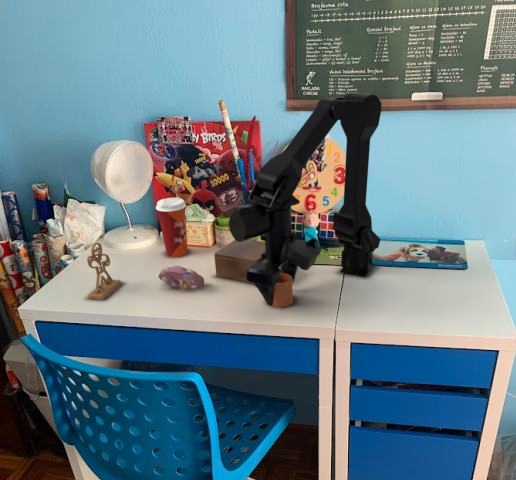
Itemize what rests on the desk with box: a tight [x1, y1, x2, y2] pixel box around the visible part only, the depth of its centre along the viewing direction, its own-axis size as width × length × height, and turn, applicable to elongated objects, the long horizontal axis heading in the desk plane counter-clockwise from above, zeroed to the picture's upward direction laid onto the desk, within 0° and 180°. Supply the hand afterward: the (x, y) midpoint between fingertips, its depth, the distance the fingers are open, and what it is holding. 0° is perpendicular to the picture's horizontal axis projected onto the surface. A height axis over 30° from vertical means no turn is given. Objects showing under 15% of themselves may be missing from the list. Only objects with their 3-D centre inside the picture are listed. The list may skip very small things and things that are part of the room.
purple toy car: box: [158, 265, 205, 290], centre depth 137 cm, size 10×5×7 cm, turn 70°
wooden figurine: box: [86, 242, 122, 301], centre depth 136 cm, size 9×4×12 cm, turn 163°
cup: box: [271, 273, 294, 308], centre depth 128 cm, size 6×6×6 cm
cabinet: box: [213, 239, 265, 285], centre depth 142 cm, size 12×11×6 cm
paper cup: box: [155, 197, 188, 258], centre depth 153 cm, size 8×8×14 cm
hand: (280, 296), depth 129 cm, fingers open, 9 cm apart
